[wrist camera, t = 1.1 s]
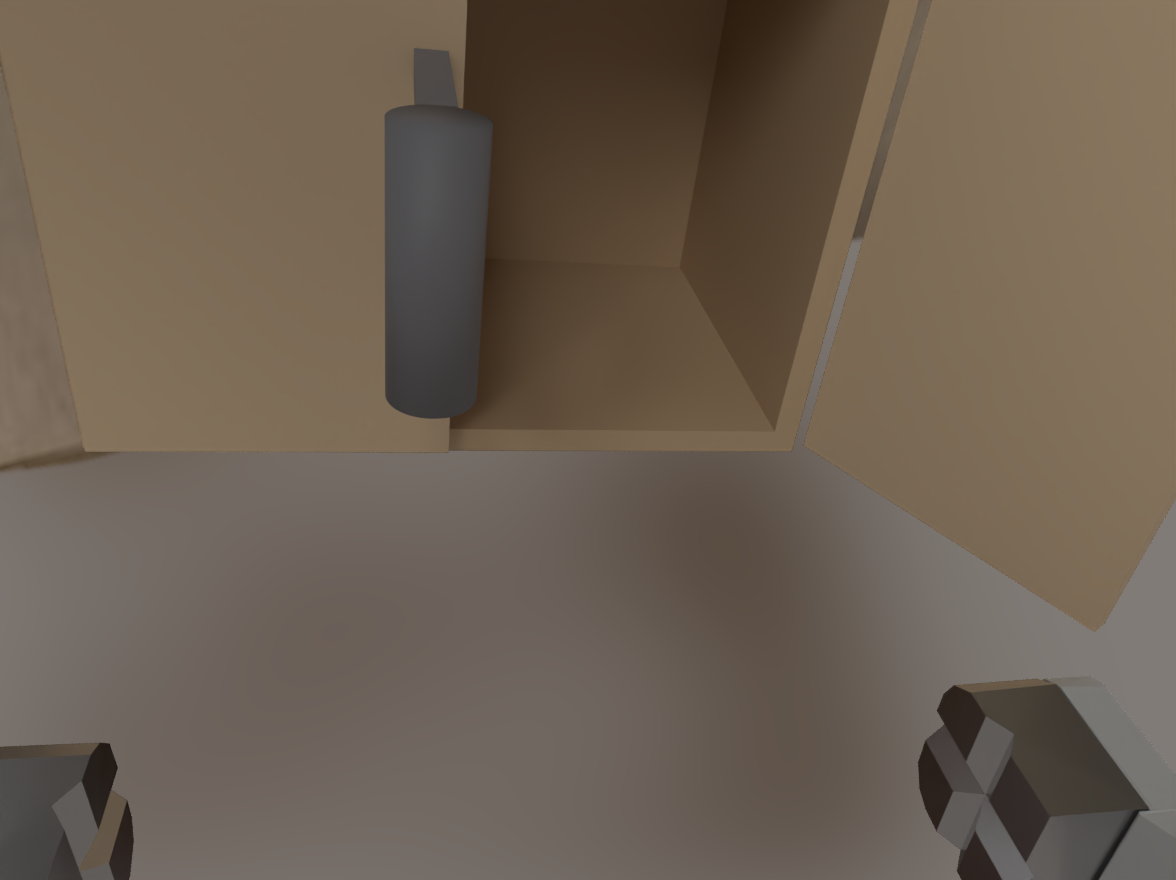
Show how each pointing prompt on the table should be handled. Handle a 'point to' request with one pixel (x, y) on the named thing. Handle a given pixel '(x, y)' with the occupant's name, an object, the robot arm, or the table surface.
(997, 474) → the flap
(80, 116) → the flap
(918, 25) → the table surface
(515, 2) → the carton
